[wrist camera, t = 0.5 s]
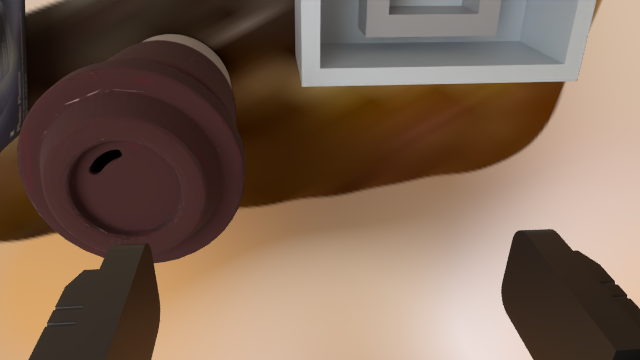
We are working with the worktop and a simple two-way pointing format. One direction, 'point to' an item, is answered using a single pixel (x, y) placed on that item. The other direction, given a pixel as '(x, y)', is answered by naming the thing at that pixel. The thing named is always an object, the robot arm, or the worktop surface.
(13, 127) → the small box
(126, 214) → the coffee cup
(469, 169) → the worktop surface
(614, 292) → the robot arm
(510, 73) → the walled box
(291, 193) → the worktop surface
